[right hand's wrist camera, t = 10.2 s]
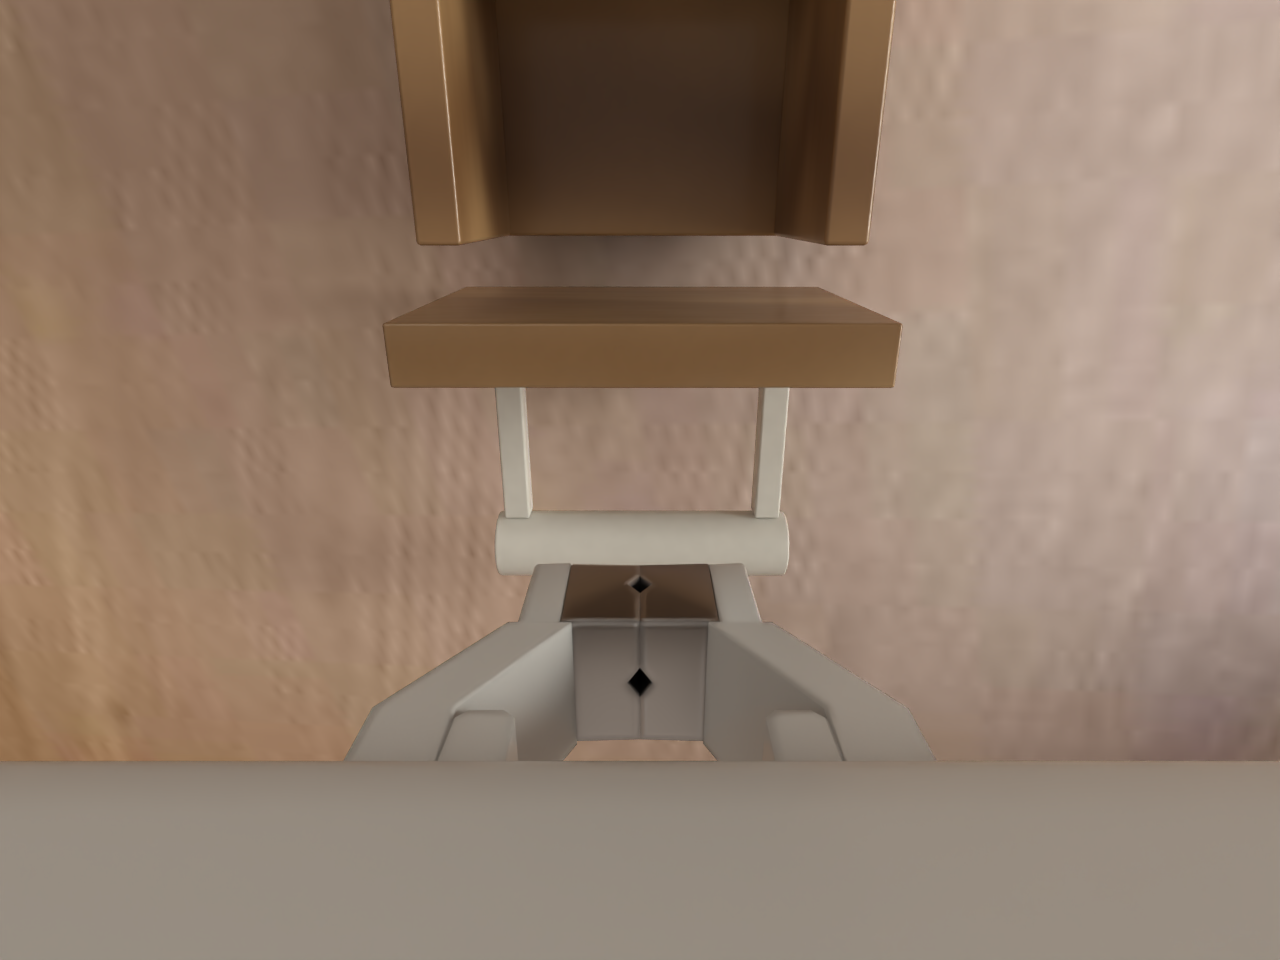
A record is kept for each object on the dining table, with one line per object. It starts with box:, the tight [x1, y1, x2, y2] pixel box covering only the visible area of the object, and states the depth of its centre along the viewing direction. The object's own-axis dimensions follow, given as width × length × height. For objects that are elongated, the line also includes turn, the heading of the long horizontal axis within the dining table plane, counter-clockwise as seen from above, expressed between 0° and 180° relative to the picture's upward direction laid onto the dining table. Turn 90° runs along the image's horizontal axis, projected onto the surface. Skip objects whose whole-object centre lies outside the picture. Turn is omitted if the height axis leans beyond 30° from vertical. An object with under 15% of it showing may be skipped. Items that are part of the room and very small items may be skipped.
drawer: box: [383, 0, 903, 576], centre depth 14 cm, size 23×10×6 cm, turn 0°
